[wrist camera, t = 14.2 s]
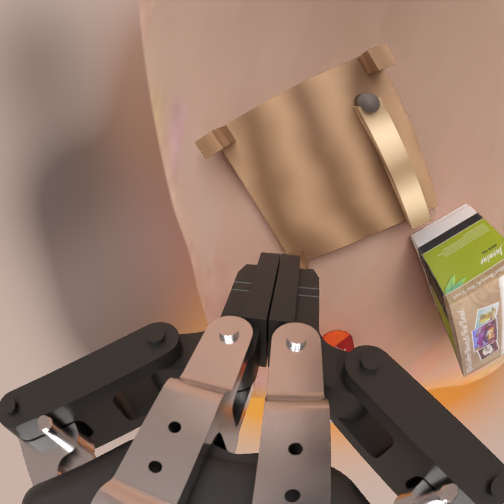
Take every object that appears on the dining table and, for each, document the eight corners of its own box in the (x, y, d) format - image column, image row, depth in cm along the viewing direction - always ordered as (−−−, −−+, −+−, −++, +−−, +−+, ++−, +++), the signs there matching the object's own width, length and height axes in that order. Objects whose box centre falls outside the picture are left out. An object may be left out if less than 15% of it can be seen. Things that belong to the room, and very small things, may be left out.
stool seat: (369, 54, 22) (386, 43, 16) (432, 199, 29) (455, 224, 23) (217, 132, 31) (194, 142, 25) (295, 258, 37) (291, 291, 32)
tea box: (484, 278, 33) (522, 345, 20) (434, 305, 37) (460, 380, 25) (466, 199, 28) (528, 260, 16) (407, 233, 32) (446, 310, 20)
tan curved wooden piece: (348, 99, 24) (354, 99, 21) (368, 89, 23) (377, 89, 20) (404, 217, 29) (414, 232, 26) (422, 209, 28) (433, 223, 25)
